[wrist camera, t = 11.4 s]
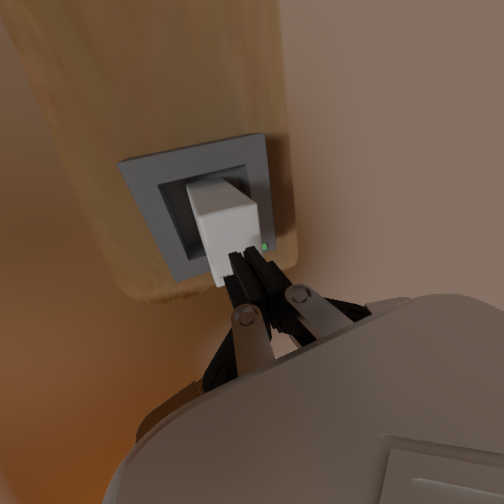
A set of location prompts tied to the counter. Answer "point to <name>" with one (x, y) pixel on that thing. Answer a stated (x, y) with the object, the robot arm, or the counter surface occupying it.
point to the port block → (177, 200)
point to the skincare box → (224, 223)
